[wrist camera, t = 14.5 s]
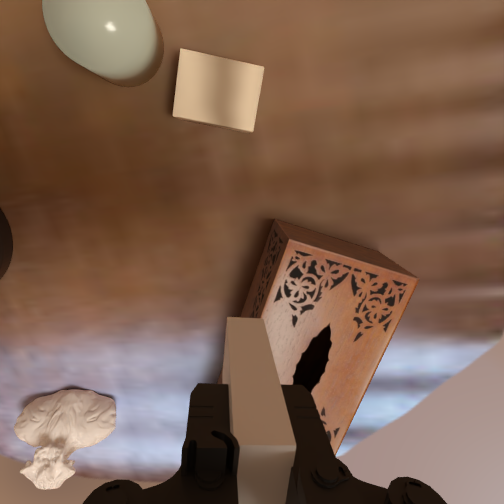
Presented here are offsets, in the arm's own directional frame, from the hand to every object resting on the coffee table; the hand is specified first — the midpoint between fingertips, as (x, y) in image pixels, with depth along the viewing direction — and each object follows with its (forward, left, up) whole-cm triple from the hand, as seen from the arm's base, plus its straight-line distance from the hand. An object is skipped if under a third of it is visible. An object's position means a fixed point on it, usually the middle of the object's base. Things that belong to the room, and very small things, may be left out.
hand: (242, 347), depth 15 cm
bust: (-18, -28, -30) cm, 45 cm away
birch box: (-2, +13, -30) cm, 32 cm away
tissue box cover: (+10, -14, -30) cm, 34 cm away
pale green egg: (-12, +17, -29) cm, 36 cm away
